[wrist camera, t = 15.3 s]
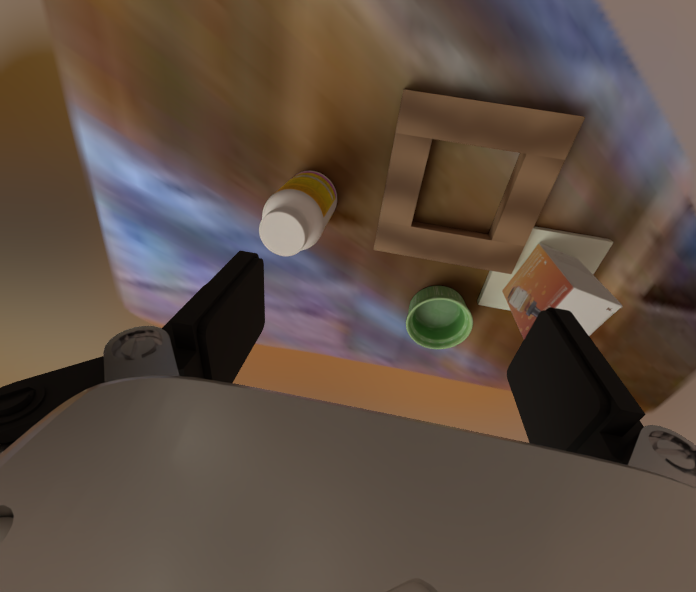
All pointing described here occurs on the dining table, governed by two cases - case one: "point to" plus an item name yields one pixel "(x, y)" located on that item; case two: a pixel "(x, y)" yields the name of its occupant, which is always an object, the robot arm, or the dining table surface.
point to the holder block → (479, 130)
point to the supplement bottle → (298, 213)
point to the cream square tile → (569, 243)
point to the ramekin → (438, 318)
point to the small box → (558, 290)
